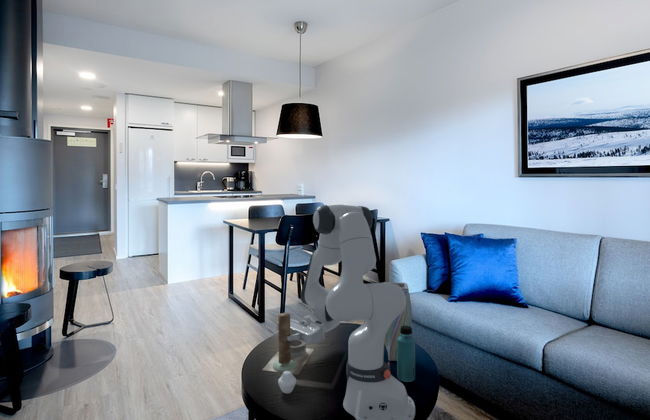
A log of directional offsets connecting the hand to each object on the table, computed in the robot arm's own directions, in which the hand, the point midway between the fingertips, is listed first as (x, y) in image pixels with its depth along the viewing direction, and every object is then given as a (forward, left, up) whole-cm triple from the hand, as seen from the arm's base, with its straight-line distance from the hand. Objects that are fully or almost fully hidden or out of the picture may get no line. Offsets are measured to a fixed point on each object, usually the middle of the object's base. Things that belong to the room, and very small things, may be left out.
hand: (282, 336), depth 142 cm
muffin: (-6, +13, -13) cm, 20 cm away
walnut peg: (0, -1, -10) cm, 10 cm away
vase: (-40, -21, -13) cm, 47 cm away
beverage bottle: (-45, -3, -13) cm, 47 cm away
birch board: (0, -7, -13) cm, 15 cm away
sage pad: (0, -1, -12) cm, 12 cm away
